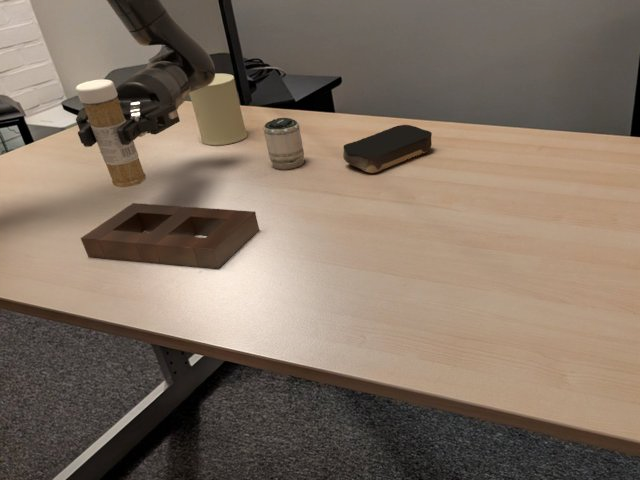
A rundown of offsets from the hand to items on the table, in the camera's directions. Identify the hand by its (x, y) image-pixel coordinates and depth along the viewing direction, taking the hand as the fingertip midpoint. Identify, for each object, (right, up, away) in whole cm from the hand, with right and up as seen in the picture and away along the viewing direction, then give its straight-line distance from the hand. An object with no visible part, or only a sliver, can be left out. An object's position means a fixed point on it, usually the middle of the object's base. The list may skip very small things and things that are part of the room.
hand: (103, 138), depth 85 cm
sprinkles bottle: (0, -4, +7) cm, 8 cm away
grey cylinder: (+16, +6, +35) cm, 39 cm away
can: (-1, +15, +49) cm, 51 cm away
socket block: (+5, -12, +11) cm, 17 cm away
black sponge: (+34, +7, +35) cm, 50 cm away
